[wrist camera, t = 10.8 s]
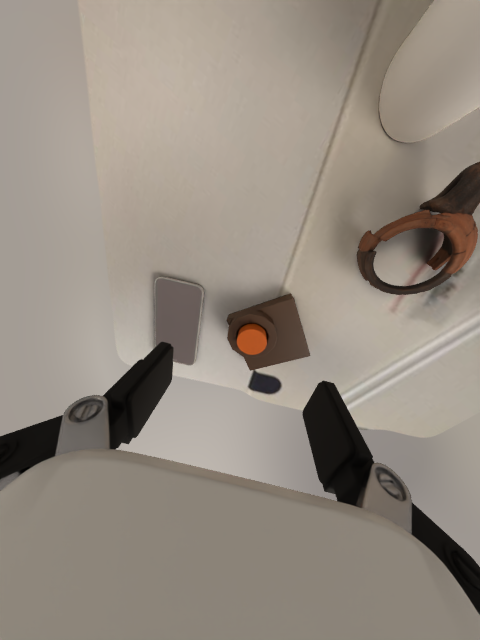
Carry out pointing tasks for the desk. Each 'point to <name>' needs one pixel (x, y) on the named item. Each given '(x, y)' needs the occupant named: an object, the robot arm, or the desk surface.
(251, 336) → the power button
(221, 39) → the desk surface
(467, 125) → the desk surface
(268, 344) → the control block
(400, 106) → the mug
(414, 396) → the desk surface
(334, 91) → the desk surface
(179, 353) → the smartphone
